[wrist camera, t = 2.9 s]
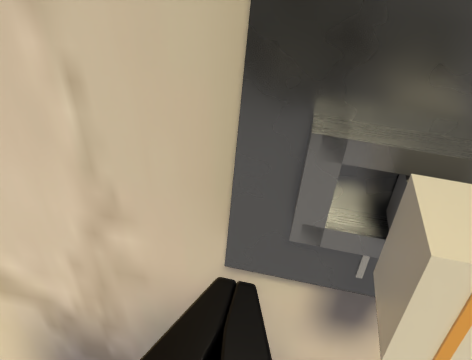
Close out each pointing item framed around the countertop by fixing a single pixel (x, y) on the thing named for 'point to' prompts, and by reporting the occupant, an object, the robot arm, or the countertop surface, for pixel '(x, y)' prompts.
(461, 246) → the block
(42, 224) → the countertop surface
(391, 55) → the panel
